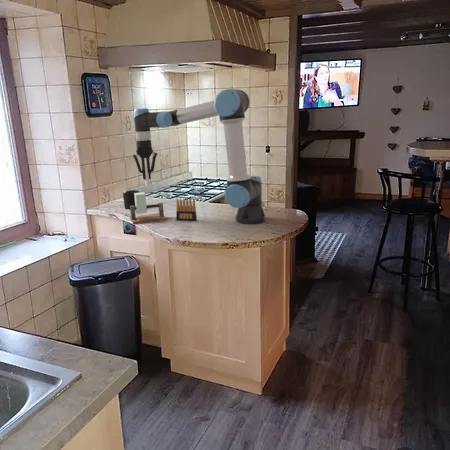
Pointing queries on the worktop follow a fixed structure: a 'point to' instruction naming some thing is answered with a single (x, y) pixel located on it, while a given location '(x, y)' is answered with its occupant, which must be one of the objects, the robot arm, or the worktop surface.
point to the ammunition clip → (186, 210)
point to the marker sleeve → (140, 202)
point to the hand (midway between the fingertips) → (147, 185)
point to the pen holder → (129, 198)
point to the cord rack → (147, 217)
